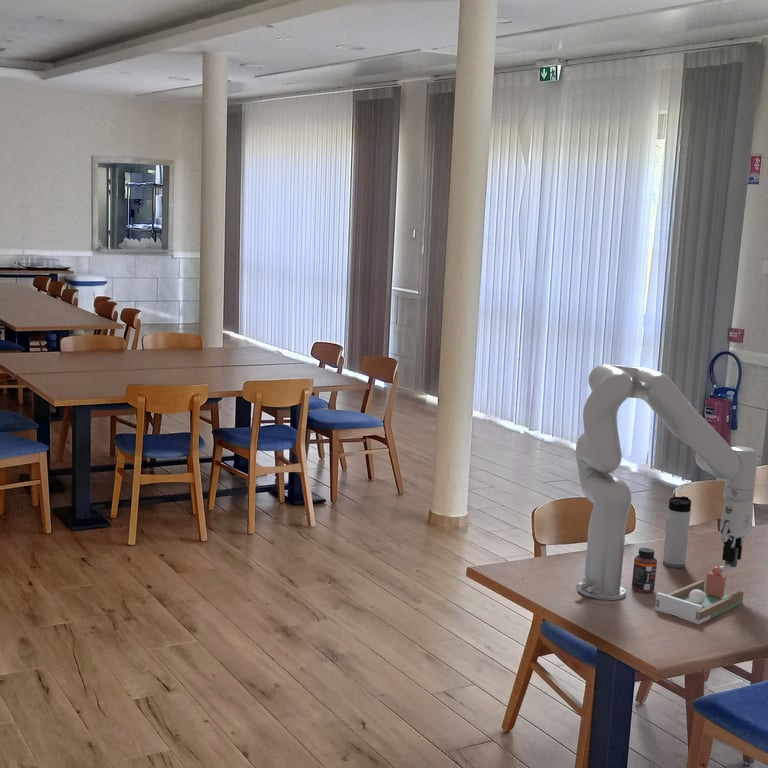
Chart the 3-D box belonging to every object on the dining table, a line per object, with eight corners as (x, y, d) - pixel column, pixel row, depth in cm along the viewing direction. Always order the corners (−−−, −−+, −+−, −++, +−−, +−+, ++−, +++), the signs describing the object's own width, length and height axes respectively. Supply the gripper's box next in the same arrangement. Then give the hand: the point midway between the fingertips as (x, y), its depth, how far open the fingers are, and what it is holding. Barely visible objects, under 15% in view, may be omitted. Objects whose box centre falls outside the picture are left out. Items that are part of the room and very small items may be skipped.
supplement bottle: (652, 595, 272) (657, 554, 271) (630, 591, 274) (634, 550, 273) (655, 588, 278) (659, 548, 276) (632, 585, 280) (636, 545, 278)
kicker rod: (720, 598, 269) (724, 555, 267) (704, 593, 272) (708, 551, 270) (738, 589, 277) (743, 548, 275) (723, 585, 280) (727, 544, 278)
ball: (699, 608, 262) (701, 593, 261) (685, 604, 264) (686, 589, 264) (707, 605, 264) (708, 590, 264) (692, 600, 267) (694, 585, 267)
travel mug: (689, 565, 301) (696, 498, 298) (679, 569, 296) (685, 502, 293) (669, 559, 305) (675, 494, 302) (659, 564, 300) (665, 497, 297)
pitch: (698, 624, 253) (700, 606, 253) (655, 610, 261) (656, 593, 261) (742, 603, 270) (744, 586, 270) (700, 590, 279) (701, 574, 278)
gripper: (738, 500, 265) (730, 569, 267) (765, 492, 276) (758, 557, 279) (711, 494, 270) (703, 561, 273) (739, 486, 282) (732, 550, 284)
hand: (731, 559), depth 276 cm, fingers closed on kicker rod, 3 cm apart
